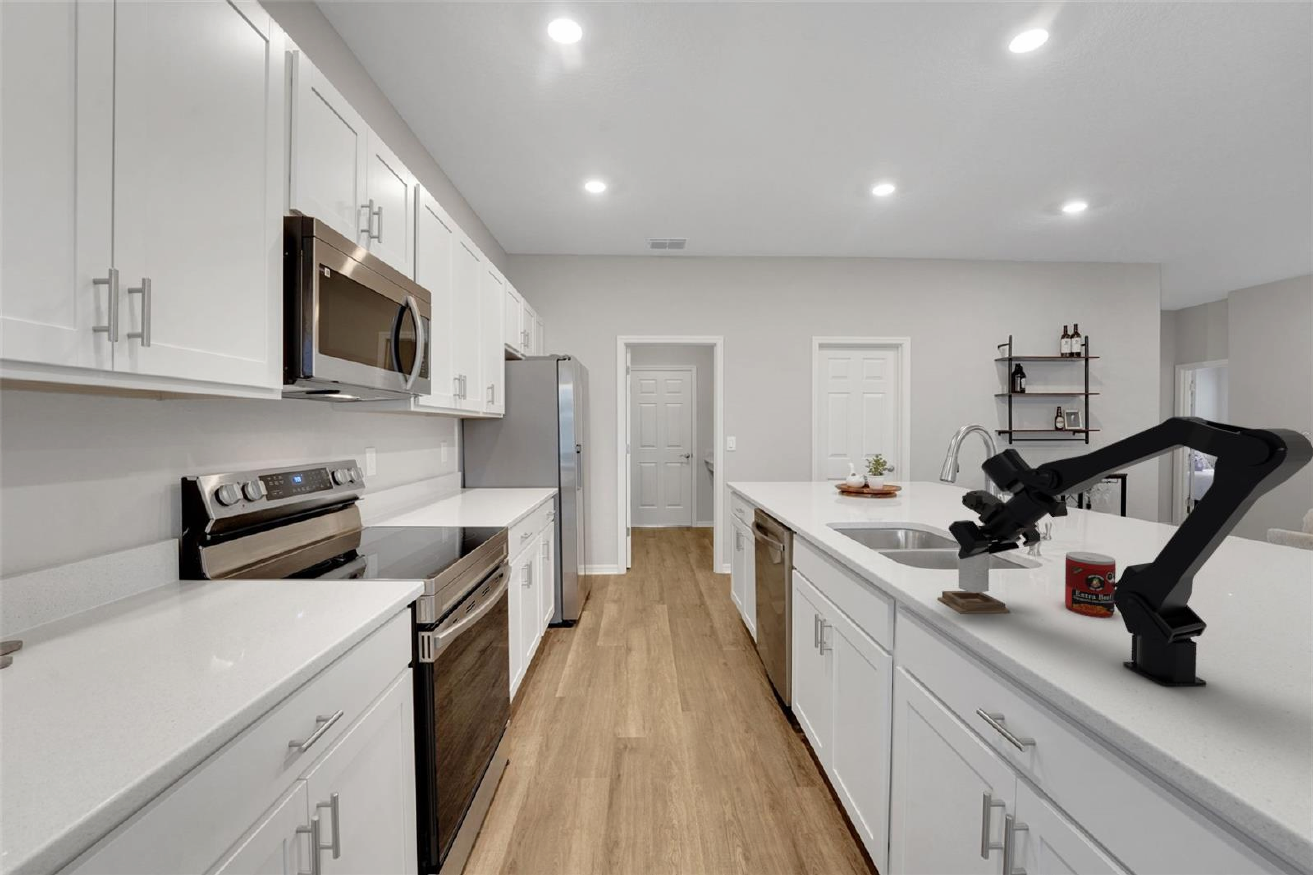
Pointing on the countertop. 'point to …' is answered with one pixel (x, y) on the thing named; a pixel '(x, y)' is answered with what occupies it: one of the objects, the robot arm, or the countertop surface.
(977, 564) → the grey dark-topped prism
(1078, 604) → the canned food
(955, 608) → the brown square tray
